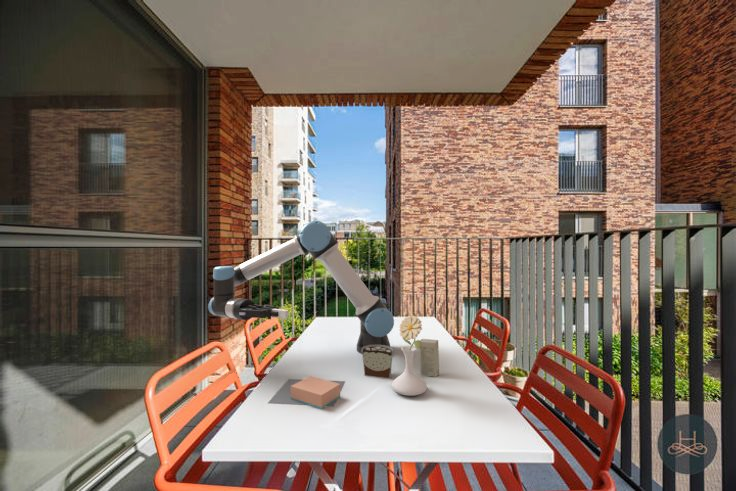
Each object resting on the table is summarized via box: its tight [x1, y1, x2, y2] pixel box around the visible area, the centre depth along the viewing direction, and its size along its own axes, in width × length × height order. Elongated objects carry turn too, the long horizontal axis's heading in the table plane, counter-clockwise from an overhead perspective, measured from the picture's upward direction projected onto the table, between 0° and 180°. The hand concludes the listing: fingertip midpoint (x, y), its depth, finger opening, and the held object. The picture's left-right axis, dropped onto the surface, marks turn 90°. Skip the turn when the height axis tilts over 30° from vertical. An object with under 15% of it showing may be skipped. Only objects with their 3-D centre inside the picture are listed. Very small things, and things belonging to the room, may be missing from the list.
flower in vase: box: [391, 314, 428, 397], centre depth 107 cm, size 13×11×25 cm
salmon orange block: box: [290, 375, 341, 410], centre depth 102 cm, size 4×9×12 cm
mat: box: [267, 378, 346, 408], centre depth 107 cm, size 20×18×1 cm
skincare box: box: [418, 338, 440, 378], centre depth 122 cm, size 6×4×12 cm
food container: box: [360, 345, 395, 380], centre depth 122 cm, size 12×6×10 cm, turn 71°
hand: (286, 314), depth 113 cm, fingers closed
